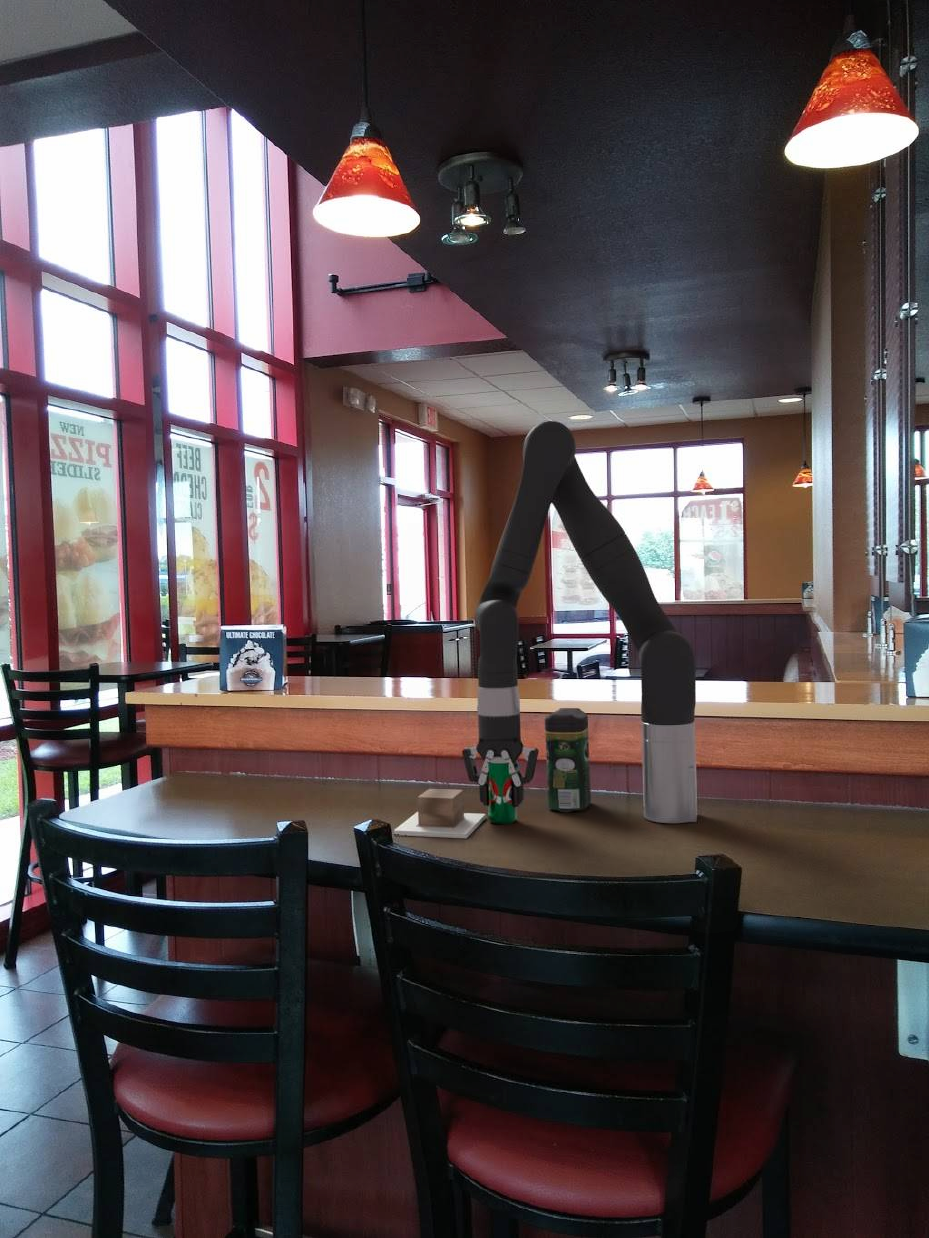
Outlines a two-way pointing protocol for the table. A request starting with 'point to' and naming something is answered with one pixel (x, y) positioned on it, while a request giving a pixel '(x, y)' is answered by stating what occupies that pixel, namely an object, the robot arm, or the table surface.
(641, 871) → the table surface
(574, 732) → the coffee jar
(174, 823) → the table surface
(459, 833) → the board
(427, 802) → the walnut block
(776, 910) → the table surface
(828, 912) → the table surface
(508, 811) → the soda can
